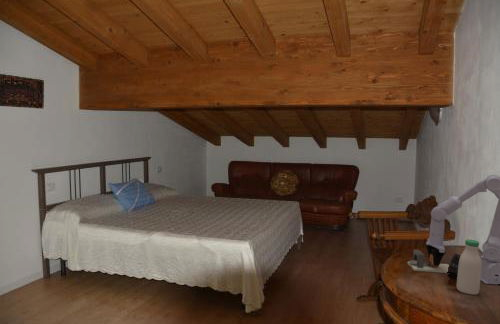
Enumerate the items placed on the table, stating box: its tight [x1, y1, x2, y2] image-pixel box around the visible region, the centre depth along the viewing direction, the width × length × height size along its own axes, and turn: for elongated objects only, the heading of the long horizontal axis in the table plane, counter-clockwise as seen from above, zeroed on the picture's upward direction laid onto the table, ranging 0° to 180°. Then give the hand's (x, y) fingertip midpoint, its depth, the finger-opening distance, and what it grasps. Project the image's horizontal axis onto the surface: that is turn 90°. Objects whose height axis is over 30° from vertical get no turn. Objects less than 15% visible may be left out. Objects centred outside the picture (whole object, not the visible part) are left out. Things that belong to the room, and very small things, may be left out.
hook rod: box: [408, 254, 439, 267], centre depth 172 cm, size 12×4×5 cm, turn 85°
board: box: [407, 261, 450, 274], centre depth 172 cm, size 9×18×1 cm, turn 85°
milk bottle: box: [456, 238, 481, 296], centre depth 148 cm, size 8×8×20 cm
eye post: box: [412, 249, 425, 268], centre depth 172 cm, size 7×2×6 cm, turn 175°
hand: (434, 263), depth 172 cm, fingers open, 4 cm apart
